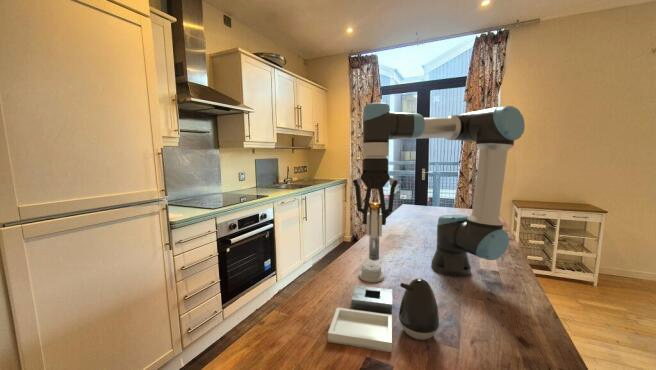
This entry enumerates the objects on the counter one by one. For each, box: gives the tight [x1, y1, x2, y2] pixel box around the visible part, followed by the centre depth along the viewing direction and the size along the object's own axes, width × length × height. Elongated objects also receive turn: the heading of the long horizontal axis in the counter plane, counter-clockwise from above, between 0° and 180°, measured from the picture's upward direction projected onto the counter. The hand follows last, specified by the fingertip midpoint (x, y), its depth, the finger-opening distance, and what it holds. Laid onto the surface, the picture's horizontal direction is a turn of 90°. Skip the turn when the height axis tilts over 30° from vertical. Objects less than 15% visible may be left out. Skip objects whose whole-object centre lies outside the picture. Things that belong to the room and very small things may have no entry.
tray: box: [327, 306, 393, 353], centre depth 74 cm, size 16×12×2 cm
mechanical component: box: [358, 262, 385, 283], centre depth 107 cm, size 10×4×10 cm
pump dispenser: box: [398, 278, 440, 341], centre depth 73 cm, size 10×10×15 cm
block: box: [350, 285, 393, 316], centre depth 85 cm, size 12×9×4 cm
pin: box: [368, 202, 381, 261], centre depth 83 cm, size 4×4×17 cm
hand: (374, 234), depth 83 cm, fingers closed on pin, 3 cm apart
